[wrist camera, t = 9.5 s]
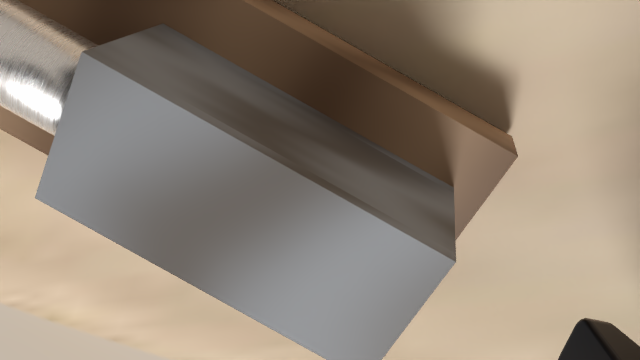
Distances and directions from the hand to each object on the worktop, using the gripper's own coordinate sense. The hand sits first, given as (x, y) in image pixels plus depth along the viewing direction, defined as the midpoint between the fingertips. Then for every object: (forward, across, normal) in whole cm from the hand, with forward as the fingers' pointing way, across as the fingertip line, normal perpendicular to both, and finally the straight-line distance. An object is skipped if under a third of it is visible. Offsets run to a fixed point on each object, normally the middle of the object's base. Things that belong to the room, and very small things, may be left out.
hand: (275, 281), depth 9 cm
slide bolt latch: (+12, +6, +2) cm, 14 cm away
